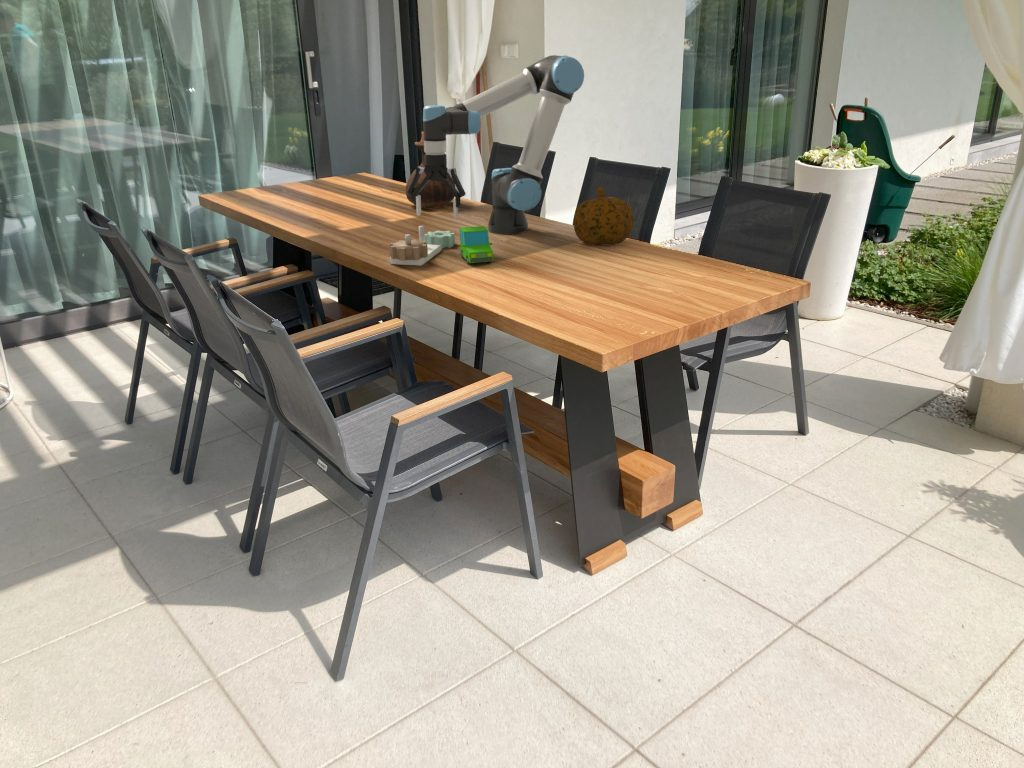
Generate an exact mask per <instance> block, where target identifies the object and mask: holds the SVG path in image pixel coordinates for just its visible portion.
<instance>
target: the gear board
mask: <svg viewBox="0 0 1024 768" xmlns="http://www.w3.org/2000/svg"><path fill="white" fill-rule="evenodd" d="M424 234H425V226H424V225H419V226H418V239H419V240H418V239H412V236H411V234H409V233H408V234H404V239H400V240H398V241H395V242H390V243H389V253H390V257H389V264H390V265H391V264H392V265H404V266H405V265H407V266H420V267H421V266H423V265H425V264H426V263H427V262H428V261H430V260H431V259H433V257H435V256H436V255H438V253H440V252H441V251H442V249H441V245H431V244H427V242H425V236H424Z"/></svg>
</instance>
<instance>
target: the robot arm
mask: <svg viewBox="0 0 1024 768" xmlns="http://www.w3.org/2000/svg"><path fill="white" fill-rule="evenodd" d="M584 81H585V71H584V69H583V66H582V63H581V62H580V61H579V60H578V59H577V58H575V57H572V56H569V55H555V54H554V55H548V56H546V57H544V58H542V59H539V60H537V61H536V62H534V63H533V64H531V65H529V66H526V67H525V68H523V70H522V72H521V73H519V74H517V75H515V76H513V77H510V78H509V79H507V80H505V81H503V82H501V83H498V84H497V85H495V86H493V87H491V88H490V87H489V89H486V90H485V91H482V92H480V93H478V94H476V95H474V96H472V97H470V98H468V99H466V100H464V101H462V102H460V103H458V104H455V105H454V106H448V107H446V106H445V105H440V104H435V105H434V104H432V105H431V104H430V105H426V106H424V107H423V110H422V114H423V115H422V121H423V123H422V124H423V127H422V128H423V131H424V152H425V153H426V154H425V155H424V157H425V168H421V167H419V166H417V167H416V168H415V169H416V174H415V176H414V179H413V181H412V183H411V186H410V188H409V190H408V194H411V195H413V200H414V204H413V205H414V206H416V207H415V208H416V216H421V215H422V208H421V195H418V194H419V193H420V191H421V190H422V189H423V188H424V186H425V185H426V184H427V182H428V181H429V180H430V181H437V182H440V181H442V182H443V183H444V184H445V185H446V186H447V187H448V189H449V190H450V191H451V192H452V194H453V195H454V196H455V197H454V198H453V200H452V204H453V206H452V207H453V208H452V209H453V218H457V217H458V216H459V208H460V207H461V198H463V197H464V196H466V192H465V189H464V187H463V185H462V183H461V181H460V178H459V176H458V175H457V169H456V168H455V167H453V168H448V167H447V166H448V164H447V163H448V158H447V154H446V153H447V135H448V136H449V135H450V136H451V135H475V134H479V133H480V131H481V127H482V120H481V119H482V118H483V117H485V116H487V115H489V114H491V113H493V112H495V111H498V110H500V109H502V108H504V107H506V106H508V105H509V104H511V103H514V102H516V101H518V100H521V99H522V98H524V97H526V96H528V95H531V94H532V95H537V94H540V96H541V97H540V101H539V104H538V106H537V109H536V112H535V114H534V118H533V120H532V123H531V126H530V129H529V132H528V133H527V134H528V135H527V138H526V141H525V142H524V145H523V149H522V151H521V154H520V157H519V160H518V162H517V163H516V164H514V165H512V167H505V168H495V169H493V170H492V172H491V178H490V180H491V199H492V201H491V203H492V211H491V213H490V216H489V220H488V223H487V227H488V228H487V230H488V232H490V233H492V234H493V233H494V234H497V235H498V234H499V235H514V234H521V233H525V232H527V231H529V223H528V219H527V216H526V214H525V211H529V210H532V209H534V208H535V207H536V206H537V205H538V204H539V203H540V201H541V199H542V188H541V184H542V181H543V179H544V177H543V175H542V169H543V166H544V163H545V161H546V158H547V155H548V152H549V150H550V148H551V147H550V146H551V145H552V141H553V139H554V136H555V133H556V131H557V128H558V124H559V122H560V119H561V117H562V114H563V111H564V109H565V106H566V105H568V104H569V103H571V101H572V99H573V97H574V94H575V93H577V91H579V90H580V89H581V87H582V85H583V83H584ZM423 171H424V173H425V174H426V177H425V178H424V180H423V181H422V183H421V184H420V185H419V186H418V188H417V189H416V190H415V191H414V189H415V187H416V185H417V183H418V180H419V178H420V176H421V174H422V173H423ZM447 173H449V174H450V176H451V178H452V179H453V181H454V183H455V187H454V186H453V184H452V183H451V182H450V181H449V179H448V177H447V176H446V175H447Z"/></svg>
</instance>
